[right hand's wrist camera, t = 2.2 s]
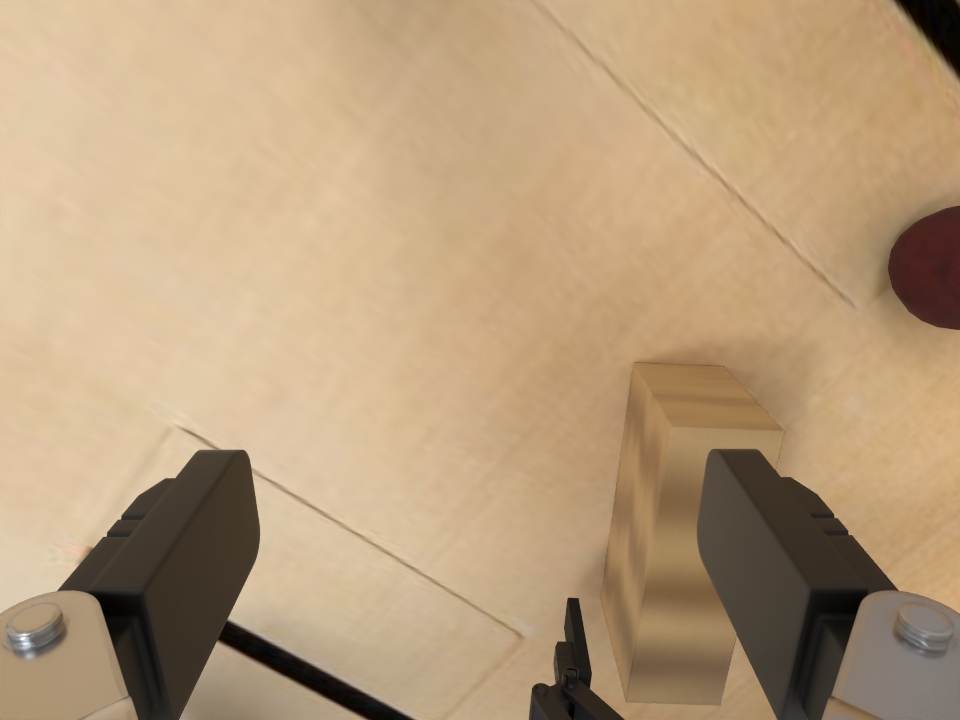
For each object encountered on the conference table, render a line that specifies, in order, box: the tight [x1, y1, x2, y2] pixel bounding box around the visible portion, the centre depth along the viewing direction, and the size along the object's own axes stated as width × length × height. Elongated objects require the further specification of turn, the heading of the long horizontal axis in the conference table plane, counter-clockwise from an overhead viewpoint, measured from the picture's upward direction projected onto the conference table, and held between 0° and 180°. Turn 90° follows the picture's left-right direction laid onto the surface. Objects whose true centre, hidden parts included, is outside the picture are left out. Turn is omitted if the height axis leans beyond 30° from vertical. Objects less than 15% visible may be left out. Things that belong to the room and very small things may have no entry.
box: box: [601, 363, 784, 705], centre depth 44 cm, size 20×6×10 cm, turn 177°
